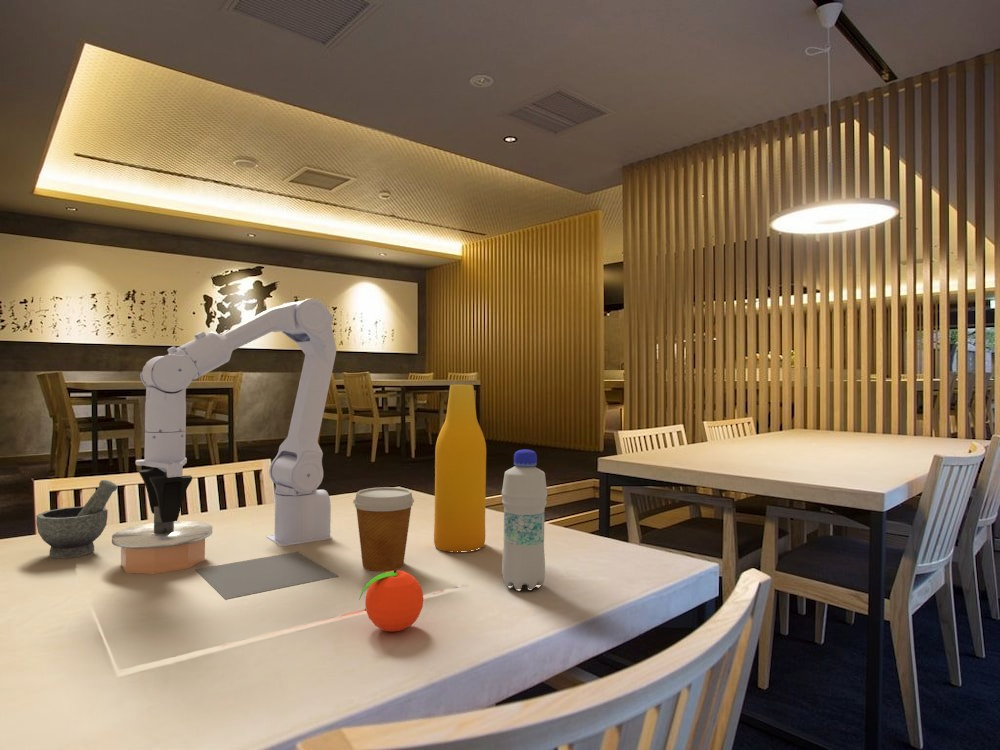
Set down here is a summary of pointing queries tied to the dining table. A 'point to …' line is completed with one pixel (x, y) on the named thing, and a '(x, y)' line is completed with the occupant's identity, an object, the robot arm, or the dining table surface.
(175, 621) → the dining table surface
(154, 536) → the steel lid
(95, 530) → the mortar and pestle
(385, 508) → the disposable coffee cup
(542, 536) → the bottle
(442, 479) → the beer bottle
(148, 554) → the terracotta bowl
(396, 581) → the clementine
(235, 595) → the rubber mat
